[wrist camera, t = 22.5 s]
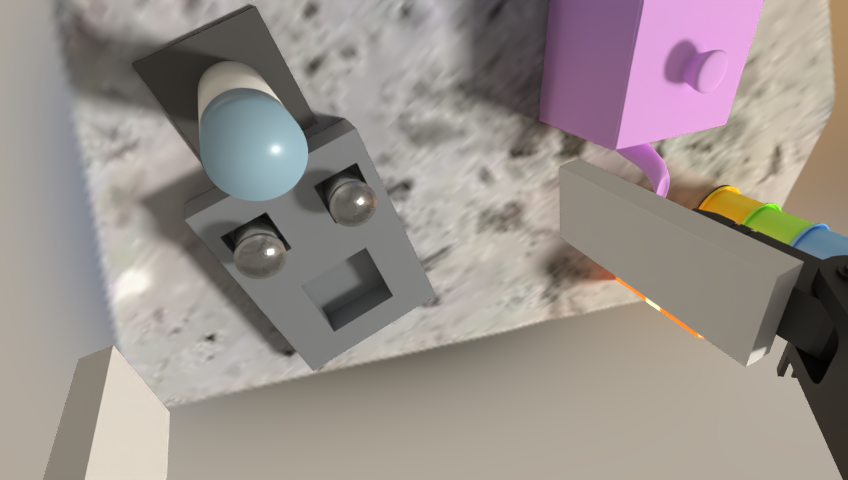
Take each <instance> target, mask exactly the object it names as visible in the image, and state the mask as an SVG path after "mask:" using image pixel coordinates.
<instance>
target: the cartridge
mask: <svg viewBox="0 0 848 480" xmlns="http://www.w3.org/2000/svg"><path fill="white" fill-rule="evenodd" d="M198 115H199V140H200V156H201V161H202V165H203V167H204V169H205V172H206V173H207V175H208V177H209V178H210V179H211V180H212V182H213V183H214V184H215V185H216V186H217V187H218V188H220V189H221V190H222V191H224V192H225V193H227V194H229V195H231V196H233V197H236V198H239V199H242V200H248V201H265V200H270V199H273V198H276V197H279V196H281V195H283V194H285V193H286V192H288V191H289V190H290V189H292V188H293V187H294V186H295V185H296V184H297V183H298V181H299V180H300V179H301V177H302V175H303V173H304V171H305V169H306V165H307V161H308V146H307V142H306V138H305V136H304V133H303V131H302V130H301V128H300V126H299V125H298V124H297V122H296V121H295V120H294V118H293V117H292V116H291V114H290V113H289V112H288V111H287V109H286V108H285V107H284V105H283V104H282V103H281V101H280V100H279V99H278V97H277V96H276V95H275V94H274V92H273V91H272V90H271V88H270V87H269V86H268V84H267V83H266V82H265V80H264V79H263V78H262V77H261V75H260V74H259V73H258V72H257V71H256V70H254V69H253V68H252V67H250V66H248V65H246V64H244V63H241V62H238V61H222V62H218V63H216V64H214V65H212V66H210V67H209V68H208V69H207V70H206V71H205V72H204V73H203V74H202V76H201V78H200V80H199V83H198Z"/></svg>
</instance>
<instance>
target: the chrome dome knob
mask: <svg viewBox="0 0 848 480" xmlns="http://www.w3.org/2000/svg"><path fill="white" fill-rule="evenodd" d="M234 239H235V245H236V248H235V251H234V263H235V266H236V268H237V270H238V271H239V272H240V273H241V274H242V275H244V276H246V277H248V278H251V279H266V278H269V277H272V276H274V275H275V274H277V273H278V272H279V271H280V270H281V269H282V268H283V267H284V265H285V262H286V259H287V253H286V249H285V247H284V245H283V243H282V242H281V240H279V239H278V237H277V234H276V231H275V228H274V226H273V225H272V223H271V222H270V221H268V220H266V219H264V218H261V217H256V218H254V219H253V220H251V221H249V222H247V223H245V224H243V225H242V226H240V227H238V228H236V229H235V231H234Z"/></svg>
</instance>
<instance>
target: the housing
mask: <svg viewBox="0 0 848 480" xmlns="http://www.w3.org/2000/svg"><path fill="white" fill-rule="evenodd" d="M306 142H307V146H308V161H307V165H306V169H305V171H304V173H303V175H302V177H301V179H300V180H299V181H298V183H297V184H296V185H295V186H294V187H293V188H292V189H290V190H289V191H288V192H286V193H285V194H283V195H281V196H279V197H276V198H273V199H270V200H265V201H248V200H242V199H239V198H236V197H233V196H231V195H229V194H227V193H225V192H224V191H222V190H221V189H220V188H218V187H217V186H216V187H215V188H213V189H211V190H209V191H207V192H205V193H203V194H201V195H199V196H198V197H196V198H194V199H192V200H190V201H188V202H186V203H185V217H184V220H185V221H186V223H187V224H188V225H189V226H190V227H191V228H192V230H193V231H194V232H195V233H196V234H197V235H198V237H199V238H200V239H201V240H202V241H203V243H204V244H205V245H206V246H207V247H208V248H209V250H210V251H211V252H212V253H213V254H214V255H215V257H216V258H217V259H218V260H219V261H220V262H221V264H222V265H223V266H224V267H225V268H226V269H227V271H228V272H229V273H230V274H231V275H232V276H233V278H234V279H235V280H236V281H237V282H238V283H239V285H240V286H241V287H242V288H243V289H244V290H245V292H246V293H247V294H248V295H249V296H250V297H251V299H252V300H253V301H254V302H255V303H256V304H257V306H258V307H259V308H260V309H261V310H262V311H263V313H264V314H265V315H266V316H267V317H268V318H269V320H270V321H271V322H272V323H273V324H274V325H275V327H276V328H277V329H278V330H279V331H280V333H281V334H282V335H283V336H284V337H285V338H286V340H287V341H288V342H289V343H290V344H291V345H292V347H293V348H294V349H295V350H296V351H297V352H298V354H299V355H300V356H301V357H302V358H303V359H304V361H305V362H306V363H307V364H308V365H309V366H310V368H311V369H312V370H313V371H314V370H316V369H317V368H319V367H320V366H322V365H324V364H325V363H327V362H329V361H330V360H332V359H333V358H335V357H337V356H338V355H340V354H342V353H343V352H345V351H346V350H348V349H350V348H351V347H353V346H354V345H356V344H358V343H359V342H361V341H363V340H364V339H366V338H367V337H369V336H371V335H372V334H374V333H376V332H377V331H379V330H380V329H382V328H384V327H385V326H387V325H388V324H390V323H392V322H393V321H395V320H397V319H398V318H400V317H401V316H403V315H405V314H406V313H408V312H410V311H411V310H413V309H414V308H416V307H418V306H419V305H421V304H422V303H424V302H426V301H427V300H429V299H431V298H432V297H434V296H435V293H434V291H433V288H432V286H431V284H430V282H429V280H428V278H427V276H426V274H425V272H424V270H423V267H422V265H421V263H420V261H419V259H418V257H417V255H416V253H415V251H414V249H413V246H412V244H411V242H410V240H409V238H408V236H407V234H406V232H405V230H404V228H403V225H402V223H401V221H400V219H399V217H398V215H397V213H396V211H395V209H394V207H393V204H392V202H391V200H390V198H389V196H388V194H387V192H386V190H385V188H384V186H383V183H382V181H381V179H380V177H379V175H378V173H377V171H376V169H375V167H374V165H373V163H372V160H371V158H370V156H369V154H368V152H367V150H366V148H365V146H364V144H363V142H362V139H361V137H360V135H359V133H358V131H357V129H356V128H355V127H354V126H353V125H352V124H351V123H350V122H349V121H348V120H346V119H343V120H341V121H339V122H337V123H336V124H334V125H332V126H330V127H328V128H326V129H324V130H322V131H320V132H319V133H317V134H315V135H313V136H311V137H309V138H307V139H306ZM344 169H346V170H349V171H351V172H353V173H354V174H355V175H356V176H357V177H358V179H359V180H360V181H361V182H363V183H365V184H367V185H368V186H369V187H370V188H371V189H372V190H373V191H374V193H375V195H376V198H377V208H376V211H375V213H374V215H373V216H372V217H371V218H370V220H368V221H367V222H366V223H364V224H362V225H360V226H357V227H346V226H343V225H341V224H339V223H338V222H336V221H335V219H334V218H333V216H332V215H331V213H330V209H329V203H328V202H327V200H326V198H325V197H324V195H323V192H322V184H323V181H324V180H325V179H327V178H329V177H331V176H333V175H335V174H336V173H338V172H340V171H342V170H344ZM256 217H261V218H264V219H266V220H268V221H270V222H271V223H272V225H273V226H274V228H275V231H276V234H277V237H278V239H279V240H281V242H282V243H283V245H284V247H285V249H286V253H287V259H286V262H285V265H284V267H283V268H282V269H281V270H280V271H279V272H278V273H277V274H275V275H274V276H272V277H269V278H266V279H251V278H248V277H246V276H244V275H242V274H241V273H240V272H239V271H238V270H237V268H236V266H235V263H234V251H235V248H236V245H235V239H234V231H235V229H236V228H238V227H240V226H242V225H243V224H245V223H247V222H249V221H251V220H253V219H254V218H256Z"/></svg>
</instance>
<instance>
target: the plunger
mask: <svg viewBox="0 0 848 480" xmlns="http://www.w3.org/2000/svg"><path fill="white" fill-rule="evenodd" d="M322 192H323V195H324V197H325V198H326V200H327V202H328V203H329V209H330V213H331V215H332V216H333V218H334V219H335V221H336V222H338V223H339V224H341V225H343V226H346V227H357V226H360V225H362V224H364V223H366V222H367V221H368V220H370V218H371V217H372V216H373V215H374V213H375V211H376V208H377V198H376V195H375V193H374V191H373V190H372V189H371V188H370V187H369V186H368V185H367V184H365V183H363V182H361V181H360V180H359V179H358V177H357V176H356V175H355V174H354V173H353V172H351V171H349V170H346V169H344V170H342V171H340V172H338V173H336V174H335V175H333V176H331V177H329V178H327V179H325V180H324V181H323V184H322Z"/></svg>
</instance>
